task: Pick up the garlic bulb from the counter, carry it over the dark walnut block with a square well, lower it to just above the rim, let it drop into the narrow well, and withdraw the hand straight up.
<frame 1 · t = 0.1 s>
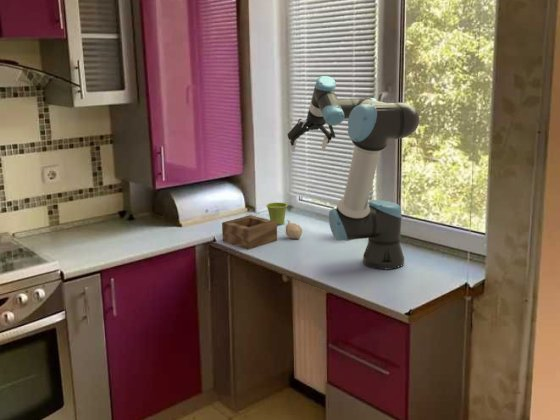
hand: (307, 149, 272), 36 cm above the worktop, tool tilted 35°, fingers open, 13 cm apart
garlic bulb: (294, 238, 270), on the worktop
walnut well: (249, 240, 268), on the worktop
plant pot: (277, 223, 292), on the worktop
foam cup: (344, 238, 270), on the worktop
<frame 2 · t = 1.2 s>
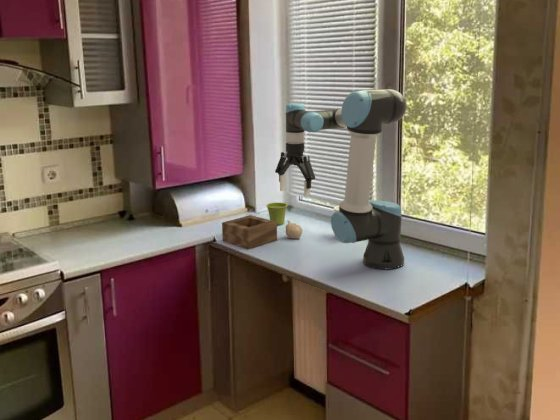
hand: (294, 193, 266), 19 cm above the worktop, tool pointing down, fingers open, 13 cm apart
nothing on the worktop moved.
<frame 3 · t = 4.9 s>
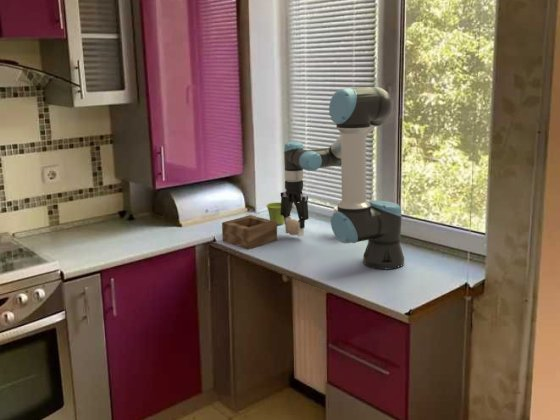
hand: (294, 234, 269), 2 cm above the worktop, tool pointing down, fingers closed on garlic bulb, 6 cm apart
garlic bulb: (294, 235, 270), point 1 cm above the worktop, touching gripper
everything else where it was.
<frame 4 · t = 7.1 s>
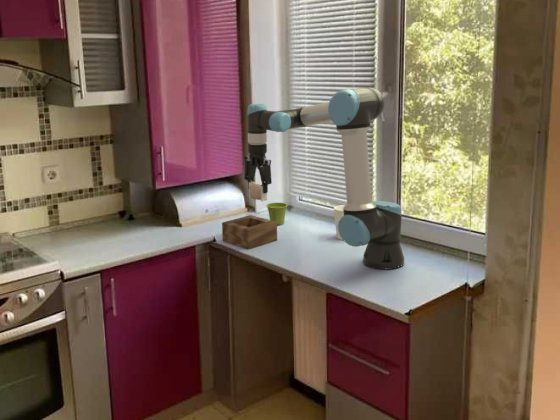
hand: (257, 199, 264), 18 cm above the worktop, tool pointing down, fingers closed on garlic bulb, 6 cm apart
garlic bulb: (258, 200, 264), point 17 cm above the worktop, touching gripper
everything else where it was.
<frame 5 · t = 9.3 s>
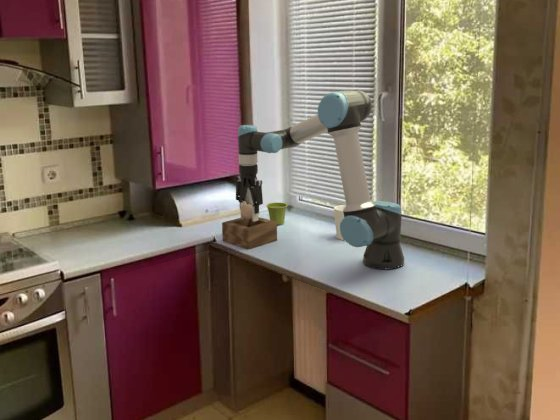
hand: (249, 219, 265), 9 cm above the worktop, tool pointing down, fingers closed on garlic bulb, 6 cm apart
garlic bulb: (249, 220, 265), point 9 cm above the worktop, touching gripper
everything else where it was.
when the fingers open (9 cm above the worktop, at t = 9.5 s): garlic bulb drops 8 cm, resting on walnut well.
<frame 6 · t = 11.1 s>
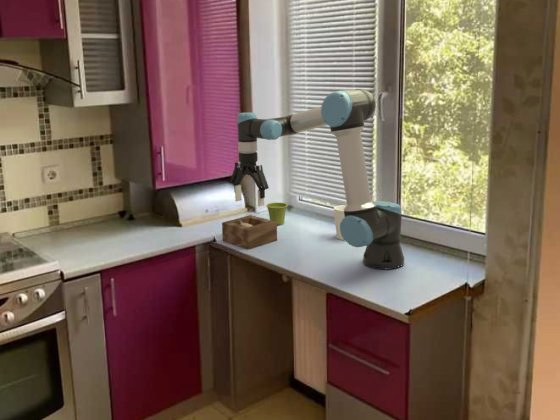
hand: (249, 203, 263), 16 cm above the worktop, tool pointing down, fingers open, 13 cm apart
garlic bulb: (247, 238, 268), point 1 cm above the worktop, touching walnut well
everything else where it was.
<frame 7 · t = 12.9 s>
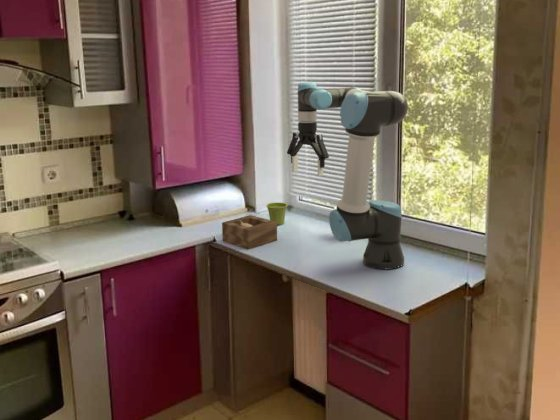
hand: (307, 173, 265), 27 cm above the worktop, tool pointing down, fingers open, 13 cm apart
nothing on the worktop moved.
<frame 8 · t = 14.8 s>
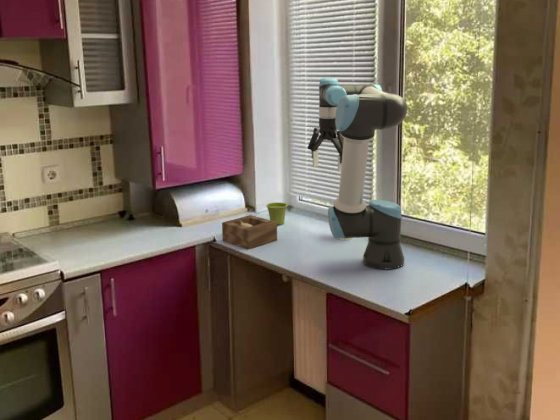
hand: (327, 168, 267), 29 cm above the worktop, tool pointing down, fingers open, 13 cm apart
nothing on the worktop moved.
at the end: garlic bulb inside the target area on the walnut well (1.1 cm from its centre), point 0.8 cm above the walnut well's base; the gripper is holding nothing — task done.
